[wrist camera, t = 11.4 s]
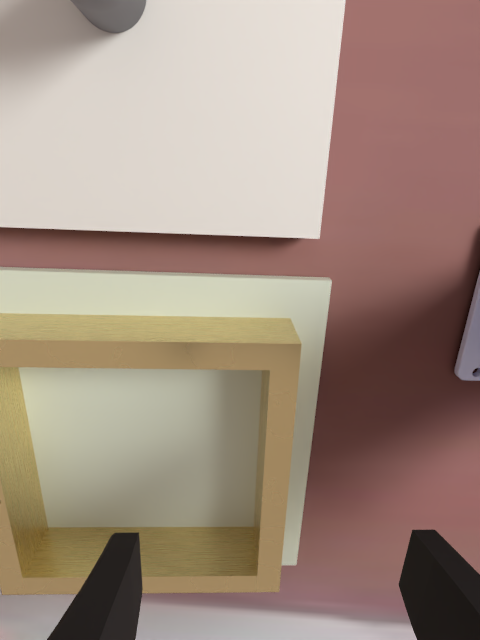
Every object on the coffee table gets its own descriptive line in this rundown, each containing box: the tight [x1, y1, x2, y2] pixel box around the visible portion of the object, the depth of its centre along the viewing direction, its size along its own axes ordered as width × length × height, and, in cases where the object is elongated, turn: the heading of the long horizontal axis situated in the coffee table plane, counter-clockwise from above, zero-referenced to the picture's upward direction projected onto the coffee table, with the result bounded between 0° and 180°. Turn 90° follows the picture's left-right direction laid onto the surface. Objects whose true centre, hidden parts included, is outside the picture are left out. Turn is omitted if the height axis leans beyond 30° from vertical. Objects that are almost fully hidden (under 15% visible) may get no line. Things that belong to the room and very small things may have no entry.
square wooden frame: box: [0, 313, 302, 595], centre depth 19 cm, size 14×14×3 cm
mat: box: [0, 267, 332, 565], centre depth 21 cm, size 18×18×1 cm
